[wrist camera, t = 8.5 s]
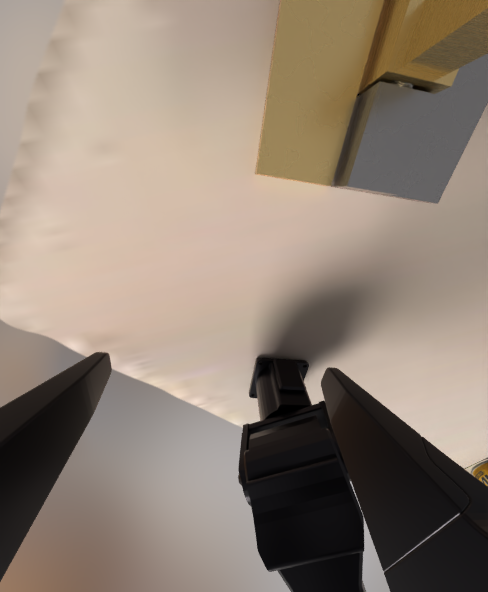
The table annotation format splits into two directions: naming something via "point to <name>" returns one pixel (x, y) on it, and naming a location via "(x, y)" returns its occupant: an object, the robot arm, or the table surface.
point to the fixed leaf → (411, 136)
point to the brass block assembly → (354, 70)
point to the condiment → (480, 471)
